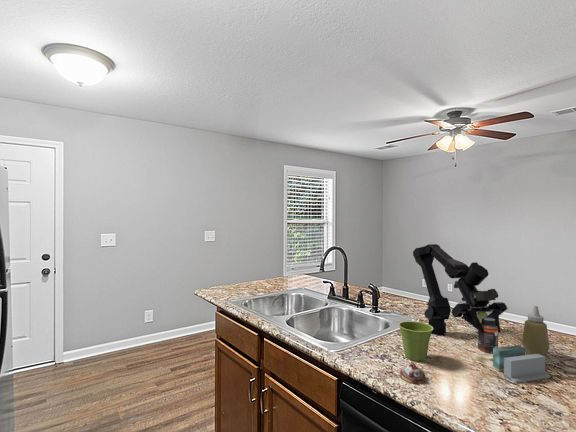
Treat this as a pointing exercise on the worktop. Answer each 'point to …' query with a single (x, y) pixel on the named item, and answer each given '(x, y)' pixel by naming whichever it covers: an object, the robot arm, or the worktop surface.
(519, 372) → the backstop wall
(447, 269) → the robot arm
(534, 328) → the squeeze bottle
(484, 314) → the fennel bulb
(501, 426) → the worktop surface
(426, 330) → the plant pot
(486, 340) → the supplement bottle
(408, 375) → the pastry
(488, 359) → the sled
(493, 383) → the worktop surface
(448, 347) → the worktop surface
